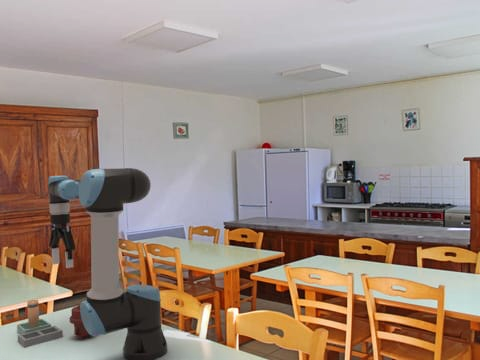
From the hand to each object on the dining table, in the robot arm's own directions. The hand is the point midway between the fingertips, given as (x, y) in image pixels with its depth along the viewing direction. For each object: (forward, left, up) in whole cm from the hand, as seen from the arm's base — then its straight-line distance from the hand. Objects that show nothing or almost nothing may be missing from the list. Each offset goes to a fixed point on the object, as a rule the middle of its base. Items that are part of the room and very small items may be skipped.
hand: (62, 265), depth 184 cm
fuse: (+6, +10, -26) cm, 28 cm away
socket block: (-4, +11, -26) cm, 29 cm away
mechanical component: (-14, -2, -26) cm, 30 cm away
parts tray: (+6, +10, -26) cm, 29 cm away
